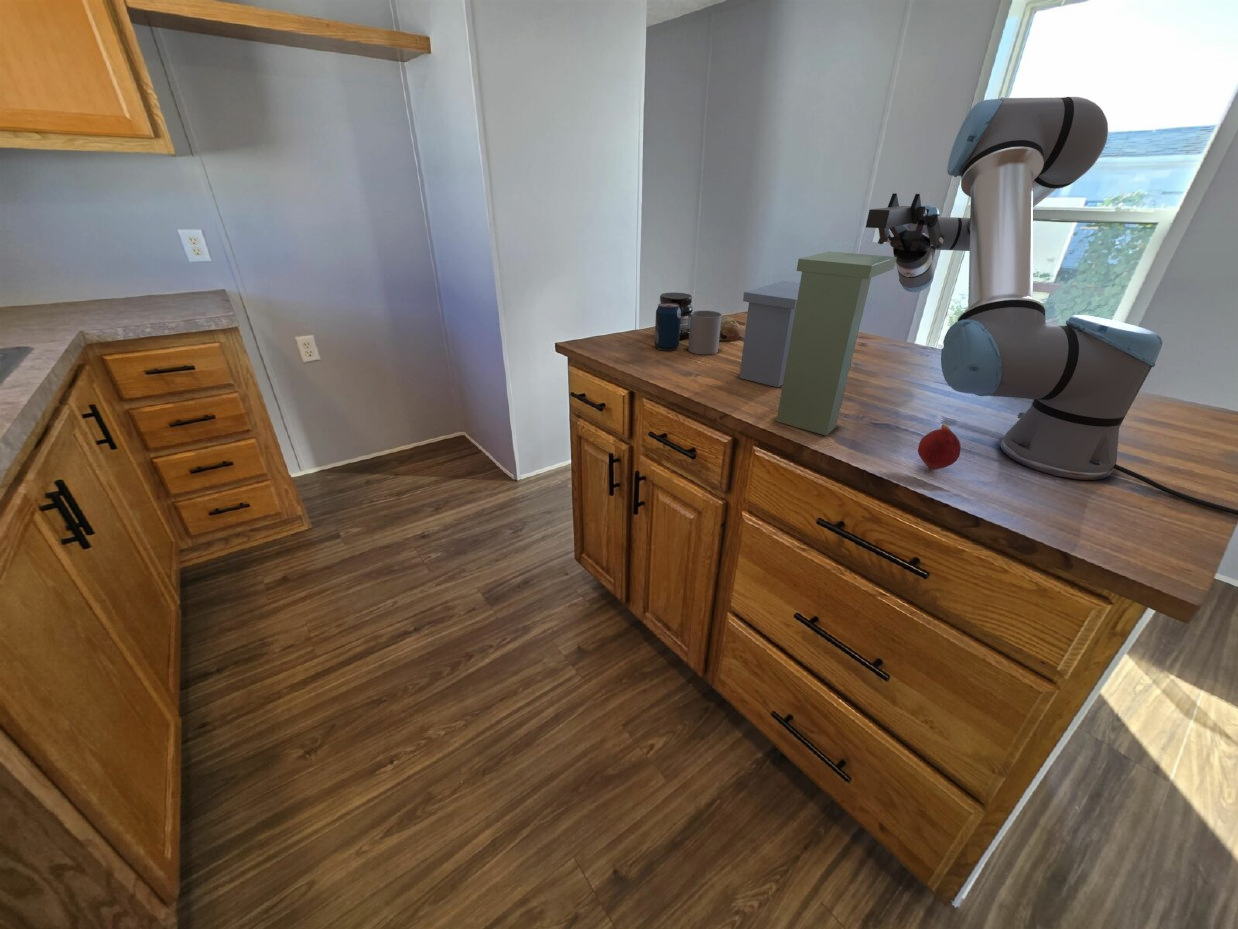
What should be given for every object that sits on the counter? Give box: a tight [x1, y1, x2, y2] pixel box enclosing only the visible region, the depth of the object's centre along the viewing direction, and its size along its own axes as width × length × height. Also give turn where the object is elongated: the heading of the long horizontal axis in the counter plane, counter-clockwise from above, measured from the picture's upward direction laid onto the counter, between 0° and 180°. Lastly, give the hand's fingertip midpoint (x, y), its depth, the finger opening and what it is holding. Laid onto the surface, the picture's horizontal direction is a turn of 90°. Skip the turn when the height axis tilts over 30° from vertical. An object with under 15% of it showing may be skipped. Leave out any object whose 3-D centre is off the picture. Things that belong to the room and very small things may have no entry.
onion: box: [917, 423, 962, 471], centre depth 82 cm, size 6×6×8 cm
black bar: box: [865, 205, 913, 229], centre depth 99 cm, size 4×22×3 cm, turn 140°
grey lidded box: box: [738, 280, 800, 388], centre depth 120 cm, size 12×20×20 cm, turn 140°
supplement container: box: [659, 292, 694, 340], centre depth 152 cm, size 10×10×12 cm
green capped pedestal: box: [775, 251, 897, 437], centre depth 94 cm, size 12×14×30 cm
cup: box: [687, 310, 723, 355], centre depth 140 cm, size 8×8×10 cm
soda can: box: [654, 302, 681, 352], centre depth 141 cm, size 7×7×12 cm
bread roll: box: [719, 315, 741, 342], centre depth 153 cm, size 10×10×8 cm
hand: (903, 200), depth 101 cm, fingers closed on black bar, 3 cm apart
